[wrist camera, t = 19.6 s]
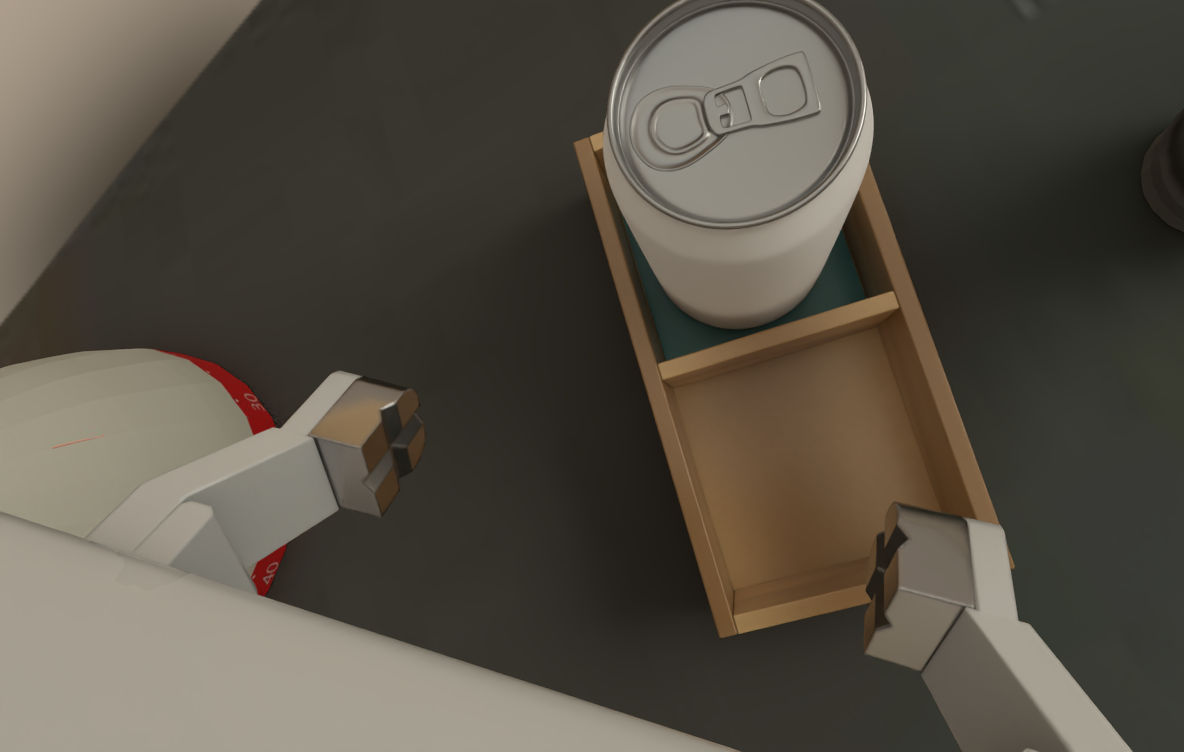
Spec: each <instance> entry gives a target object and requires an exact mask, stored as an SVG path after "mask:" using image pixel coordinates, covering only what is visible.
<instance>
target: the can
mask: <svg viewBox="0 0 1184 752" xmlns="http://www.w3.org/2000/svg"><path fill="white" fill-rule="evenodd" d="M873 128H874V126H873V109H872V103H871V98H870V94H869V91H868V88H867V83H866V76H865V71H864V67H863V63H862V60H861V57H860V54H859V52H858V49H857V47H856V45H855V43H854V41H853V40H852V38H851V36H850V35H849V33H848V32H847V30H846V29H845V28H844V26H843V25H842V24H841V23H840V22H839V21H838V19H837V18H836V17H835V16H834V15H833V14H832V13H830V12H829V11H828V10H827V9H826V8H824V7H823V6H822V5H820V4H819V3H818V2H816V1H814V0H678V1H676V2H675V3H673V4H671V5H670V6H668V7H667V8H665V9H664V10H663V11H661V12H660V13H659V14H657V15H656V16H655V17H654V18H653V19H651V20H650V21H649V22H648V23H647V24H646V25H645V26H644V27H643V28H642V29H641V31H640V32H639V33H638V34H637V35H636V37H635V38H634V39H633V40H632V42H631V43H630V45H629V46H628V48H627V49H626V51H625V52H624V54H623V56H622V58H621V60H620V62H619V64H618V66H617V68H616V71H615V74H614V76H613V79H612V83H611V86H610V91H609V96H608V103H607V115H606V120H605V126H604V135H603V154H604V162H605V168H606V173H607V177H608V181H609V184H610V187H611V190H612V192H613V195H614V197H615V199H616V202H617V204H618V206H619V208H620V210H621V212H622V214H623V216H624V218H625V220H626V222H627V224H628V226H629V227H630V229H631V231H632V233H633V235H634V237H635V239H636V241H637V243H638V244H639V246H640V248H641V250H642V252H643V254H644V256H645V257H646V259H647V261H648V263H649V265H650V267H651V268H652V270H653V272H654V274H655V275H656V277H657V279H658V281H659V283H660V284H661V286H662V288H663V289H664V291H665V292H666V294H667V295H668V297H669V298H670V299H671V301H672V302H673V303H674V304H675V305H676V306H677V307H678V308H679V309H681V310H682V311H683V312H684V313H686V314H687V315H689V316H690V317H692V318H694V319H696V320H698V321H700V322H702V323H705V324H707V325H711V326H714V327H719V328H725V329H746V328H753V327H757V326H761V325H764V324H767V323H770V322H772V321H774V320H776V319H778V318H780V317H782V316H784V315H785V314H787V313H788V312H789V311H791V310H792V309H793V308H795V307H796V306H797V305H798V304H799V303H800V302H801V301H802V300H803V299H804V298H805V297H806V295H807V294H808V293H809V292H810V290H811V289H812V287H813V286H814V284H815V282H816V281H817V279H818V277H819V275H820V273H821V271H822V269H823V267H824V265H825V263H826V261H827V259H828V256H829V254H830V252H831V250H832V248H833V246H834V244H835V241H836V239H837V237H838V235H839V233H840V230H841V228H842V226H843V224H844V222H845V219H846V217H847V215H848V213H849V211H850V208H851V206H852V204H853V202H854V199H855V197H856V195H857V192H858V190H859V188H860V185H861V183H862V180H863V177H864V174H865V172H866V169H867V165H868V162H869V158H870V153H871V147H872V141H873Z"/></svg>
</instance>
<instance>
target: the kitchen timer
mask: <svg viewBox="0 0 1184 752" xmlns="http://www.w3.org/2000/svg"><path fill="white" fill-rule="evenodd" d="M272 427H274V428H276V427H275V424H274V422H273V419H272V417H271V416H270V415H269V413H268V412H267V411H266V409H265V408H264V407H263V406H262V404H261V403H260V402H259V400H258V399H257V398H256V396H255V395H254V394H253V392H252V391H251V390H250V388H249V387H248V386H247V385H246V384H244V383H243V382H241V381H240V380H239V379H237V378H236V377H234V376H233V375H231V374H230V373H229V372H227V371H226V370H224V369H223V368H221V367H220V366H219V365H217V364H215V363H212V362H208V361H205V360H201V359H198V358H195V357H191V356H188V355H184V354H181V353H174V352H168V351H161V350H155V349H121V350H103V351H84V352H77V353H70V354H65V355H59V356H54V357H49V358H44V359H39V360H34V361H29V362H24V363H19V364H15V365H10V366H7V367H3V368H0V511H1V512H4V513H7V514H11V515H14V516H17V517H20V518H23V519H26V520H29V521H32V522H35V523H38V524H41V525H44V526H47V527H51V528H54V529H57V530H60V531H63V532H66V533H69V534H72V535H75V536H78V537H81V538H85V537H86V536H87V535H88V534H89V533H90V532H91V531H92V530H93V529H94V528H95V527H96V526H97V525H98V524H99V523H100V522H101V521H102V520H103V519H105V518H106V517H107V516H108V515H109V514H110V513H111V512H112V511H113V510H114V509H115V508H116V507H117V506H118V505H119V504H120V503H121V502H122V501H123V500H124V499H125V498H126V497H127V496H128V495H130V494H131V493H132V492H133V491H134V490H135V489H136V488H137V487H138V486H139V485H140V484H141V483H143V482H145V481H147V480H150V479H152V478H155V477H157V476H159V475H162V474H164V473H166V472H169V471H171V470H173V469H176V468H178V467H180V466H183V465H185V464H188V463H190V462H192V461H195V460H197V459H199V458H202V457H204V456H206V455H209V454H211V453H213V452H216V451H218V450H220V449H223V448H225V447H228V446H230V445H232V444H235V443H237V442H239V441H242V440H244V439H246V438H249V437H251V436H253V435H256V434H258V433H260V432H263V431H265V430H268V429H270V428H272ZM286 544H287V543H286ZM286 544H285V545H283V546H282V547H280V548H278V549H277V550H275V551H274V552H272V553H271V554H269V555H267V556H266V557H264V558H263V559H261V560H260V561H258V562H257V563H255V564H253V565H252V566H250V567H249V568H247V569H246V570H247V572H248V573H249V575H250V577H251V579H252V581H253V582H254V584H255V586H256V588H257V594H258V595H260V596H263V597H264V596H265V594H266V593H267V592H268V590H269V588H270V585H271V583H272V581H273V578H274V576H275V573H276V571H277V569H278V566H279V564H280V562H281V559H282V557H283V555H284V552H285V550H286Z"/></svg>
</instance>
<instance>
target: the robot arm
mask: <svg viewBox="0 0 1184 752" xmlns="http://www.w3.org/2000/svg"><path fill="white" fill-rule="evenodd" d="M419 406H420V402H419V399H418V395H417V391H415V390H412V389H410V388H406V387H402V386H398V385H395V384H391V383H387V382H383V381H379V380H376V379H372V378H368V377H364V376H359V375H355V374H351V373H347V372H343V371H337V372H334V373H332V374H330V375H329V376H328V377H327V379H326V380H325V381H324V382H323V383H322V384H321V385H320V386H319V387H318V388H317V389H316V390H315V392H314V393H313V394H312V395H311V396H310V397H309V398H308V399H307V400H306V401H305V402H304V403H303V405H302V406H301V407H300V408H299V409H298V410H297V411H296V412H295V413H294V414H293V415H292V417H291V418H290V419H289V420H288V421H287V422H286V423H285V424H284V425H283V426H282V427H281V428H280V429H279V428H274V427H272V428H270V429H268V430H265V431H263V432H260V433H258V434H256V435H253V436H251V437H249V438H246V439H244V440H242V441H239V442H237V443H235V444H232V445H230V446H228V447H225V448H223V449H220V450H218V451H216V452H213V453H211V454H209V455H206V456H204V457H202V458H199V459H197V460H195V461H192V462H190V463H188V464H185V465H183V466H180V467H178V468H176V469H173V470H171V471H169V472H166V473H164V474H162V475H159V476H157V477H155V478H152V479H150V480H147V481H145V482H143V483H141V484H140V485H139V486H138V487H137V488H136V489H135V490H134V491H133V492H132V493H131V494H130V495H128V496H127V497H126V498H125V499H124V500H123V501H122V502H121V503H120V504H119V505H118V506H117V507H116V508H115V509H114V510H113V511H112V512H111V513H110V514H109V515H108V516H107V517H106V518H105V519H103V520H102V521H101V522H100V523H99V524H98V525H97V526H96V527H95V528H94V529H93V530H92V531H91V532H90V533H89V534H88V535H87V536H86V537H85V538H81V537H78V536H75V535H72V534H69V533H66V532H63V531H60V530H57V529H54V528H51V527H47V526H44V525H41V524H38V523H35V522H32V521H29V520H26V519H23V518H20V517H17V516H14V515H11V514H7V513H4V512H1V511H0V752H742V751H738V750H735V749H732V748H729V747H726V746H723V745H720V744H717V743H714V742H711V741H708V740H705V739H701V738H698V737H695V736H692V735H689V734H686V733H683V732H680V731H677V730H674V729H671V728H668V727H665V726H661V725H658V724H655V723H652V722H649V721H646V720H643V719H640V718H637V717H634V716H631V715H628V714H625V713H621V712H618V711H615V710H612V709H609V708H606V707H603V706H600V705H597V704H594V703H591V702H588V701H584V700H581V699H578V698H575V697H572V696H569V695H566V694H563V693H560V692H557V691H554V690H551V689H547V688H544V687H541V686H538V685H535V684H532V683H529V682H526V681H523V680H520V679H517V678H513V677H510V676H507V675H504V674H501V673H498V672H495V671H492V670H489V669H486V668H483V667H479V666H476V665H473V664H470V663H467V662H464V661H461V660H458V659H455V658H452V657H449V656H445V655H442V654H439V653H436V652H433V651H430V650H427V649H424V648H421V647H418V646H415V645H411V644H408V643H405V642H402V641H399V640H396V639H393V638H390V637H387V636H384V635H381V634H377V633H374V632H371V631H368V630H365V629H362V628H359V627H356V626H353V625H350V624H347V623H343V622H340V621H337V620H334V619H331V618H328V617H325V616H322V615H319V614H316V613H313V612H310V611H306V610H303V609H300V608H297V607H294V606H291V605H288V604H285V603H282V602H279V601H276V600H272V599H269V598H266V597H263V596H260V595H258V594H257V588H256V586H255V584H254V582H253V581H252V579H251V577H250V575H249V573H248V572H247V570H246V569H247V568H249V567H250V566H252V565H253V564H255V563H257V562H258V561H260V560H261V559H263V558H264V557H266V556H267V555H269V554H271V553H272V552H274V551H275V550H277V549H278V548H280V547H282V546H283V545H285V544H286V543H288V542H289V541H291V540H293V539H294V538H296V537H297V536H299V535H300V534H302V533H304V532H305V531H307V530H308V529H310V528H311V527H313V526H315V525H316V524H318V523H319V522H321V521H322V520H324V519H325V518H327V517H329V516H330V515H332V514H333V513H335V512H336V511H338V510H339V508H338V507H340V508H344V509H348V510H352V511H356V512H360V513H364V514H368V515H372V516H376V517H380V518H381V517H382V516H383V514H384V513H385V512H386V510H387V509H388V507H389V506H390V504H391V503H392V501H393V500H394V498H395V497H396V495H397V494H398V492H399V491H400V486H399V478H401V477H403V476H405V475H407V474H409V473H411V472H413V470H414V468H415V467H416V465H417V464H418V462H419V461H420V459H421V456H422V453H423V450H424V447H425V439H426V431H425V426H424V422H423V421H422V420H421V419H420V418H419V417H418V416H417V414H416V413H415V412H416V410H417V409H418V407H419ZM865 591H866V593H867V594H868V596H869V597H870V599H871V600H872V601H871V603H870V605H869V607H868V610H867V612H866V614H865V616H864V655H868V656H871V657H874V658H877V659H881V660H884V661H887V662H890V663H894V664H897V665H900V666H903V667H907V668H910V669H913V670H916V671H920V672H922V674H921V676H922V678H923V680H924V682H925V683H926V685H927V687H928V689H929V691H930V693H931V695H932V696H933V698H934V700H935V702H936V704H937V706H938V708H939V709H940V711H941V713H942V715H943V717H944V719H945V721H946V723H947V724H948V726H949V728H950V730H951V732H952V734H953V736H954V737H955V739H956V741H957V743H958V745H959V747H960V749H961V751H962V752H1132V750H1131V749H1130V748H1129V747H1128V745H1127V744H1126V743H1125V742H1124V740H1123V739H1122V738H1121V737H1120V735H1119V734H1118V733H1117V732H1116V731H1115V729H1114V728H1113V727H1112V726H1111V724H1110V723H1109V722H1108V721H1107V719H1106V718H1105V717H1104V716H1103V714H1102V713H1101V712H1100V711H1099V709H1098V708H1097V707H1096V706H1095V705H1094V703H1093V702H1092V701H1091V700H1090V698H1089V697H1088V696H1087V695H1086V693H1085V692H1084V691H1083V690H1082V688H1081V687H1080V686H1079V685H1078V683H1077V682H1076V681H1075V680H1074V679H1073V677H1072V676H1071V675H1070V674H1069V672H1068V671H1067V670H1066V669H1065V667H1064V666H1063V665H1062V664H1061V662H1060V661H1059V660H1058V659H1057V657H1056V656H1055V655H1054V654H1053V653H1052V651H1051V650H1050V649H1049V648H1048V646H1047V645H1046V644H1045V643H1044V641H1043V640H1042V639H1041V638H1040V636H1039V635H1038V634H1037V633H1036V631H1035V630H1034V629H1033V628H1032V627H1031V625H1030V624H1027V623H1024V622H1020V621H1018V615H1017V608H1016V602H1015V596H1014V589H1013V583H1012V576H1011V570H1010V563H1009V557H1008V551H1007V544H1006V538H1005V532H1004V530H1003V529H1002V527H1001V526H1000V525H997V524H993V523H988V522H984V521H979V520H975V519H971V518H966V517H963V518H962V517H961V516H959V515H954V514H950V513H945V512H941V511H936V510H932V509H927V508H923V507H918V506H914V505H909V504H905V503H900V502H896V501H894V502H893V503H892V504H891V505H890V507H889V509H888V511H887V513H886V515H885V531H882V532H880V533H878V534H877V535H876V538H875V540H874V543H873V545H872V548H871V551H870V555H869V559H868V563H867V572H866V586H865Z"/></svg>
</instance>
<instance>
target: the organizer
mask: <svg viewBox="0 0 1184 752" xmlns="http://www.w3.org/2000/svg"><path fill="white" fill-rule="evenodd" d="M603 135H604V131H603V132H601V133H598V134H595V135H593V136H590V139H589V138H585V139H582V140H579V141H577V142H574V148H575V151H576V155H577V158H578V162H579V165H580V168H581V172H582V175H583V178H584V182H585V185H586V189H587V192H588V195H589V199H590V202H591V206H592V209H593V212H594V216H595V219H596V222H597V226H598V229H599V233H600V236H601V239H602V243H603V246H604V249H605V253H606V256H607V260H608V263H609V266H610V270H611V273H612V277H613V280H614V283H615V287H616V290H617V293H618V297H619V300H620V304H621V307H622V310H623V314H624V317H625V321H626V324H627V327H628V331H629V334H630V337H631V341H632V344H633V348H634V351H635V354H636V358H637V361H638V364H639V368H640V371H641V375H642V378H643V381H644V385H645V388H646V392H647V395H648V398H649V402H650V405H651V408H652V412H653V415H654V419H655V422H656V425H657V429H658V432H659V435H660V439H661V442H662V446H663V449H664V452H665V456H666V459H667V463H668V466H669V469H670V473H671V476H672V479H673V483H674V486H675V490H676V493H677V496H678V500H679V503H680V507H681V510H682V513H683V517H684V520H685V523H686V527H687V530H688V534H689V537H690V540H691V544H692V547H693V550H694V554H695V557H696V561H697V564H698V567H699V571H700V574H701V578H702V581H703V584H704V588H705V591H706V594H707V598H708V601H709V605H710V608H711V611H712V615H713V618H714V621H715V625H716V628H717V632H718V635H719V637H720V638H724V637H729V636H733V635H736V634H737V632H738V634H741V633H746V632H750V631H754V630H758V629H763V628H767V627H771V626H775V625H779V624H784V623H788V622H792V621H796V620H801V619H805V618H809V617H813V616H817V615H822V614H826V613H830V612H834V611H838V610H843V609H847V608H851V607H855V606H860V605H864V604H868V603H871V601H872V600H871V599H870V597H869V596H868V594H867V593H866V591H865V586H866V572H867V563H868V559H869V555H870V551H871V548H872V545H873V543H874V540H875V538H876V535H877V534H878V533H880V532H882V531H885V515H886V513H887V511H888V509H889V507H890V505H891V504H892V503H893V502H894V501H896V502H900V503H905V504H909V505H914V506H918V507H923V508H927V509H932V510H936V511H941V512H945V513H950V514H954V515H959V516H961V517H962V518H963V517H966V518H971V519H975V520H979V521H984V522H988V523H993V524H997V525H1000V524H999V521H998V519H997V516H996V513H995V510H994V508H993V505H992V502H991V499H990V497H989V494H988V491H987V488H986V485H985V483H984V480H983V477H982V474H981V472H980V469H979V466H978V463H977V461H976V458H975V455H974V452H973V449H972V447H971V444H970V441H969V438H968V436H967V433H966V430H965V427H964V425H963V422H962V419H961V416H960V413H959V411H958V408H957V405H956V402H955V400H954V397H953V394H952V391H951V389H950V386H949V383H948V380H947V377H946V375H945V372H944V369H943V366H942V364H941V361H940V358H939V355H938V353H937V350H936V347H935V344H934V341H933V339H932V336H931V333H930V330H929V328H928V325H927V322H926V319H925V317H924V314H923V311H922V308H921V305H920V303H919V300H918V297H917V294H916V292H915V289H914V286H913V283H912V281H911V278H910V275H909V272H908V269H907V267H906V264H905V261H904V258H903V256H902V253H901V250H900V247H899V245H898V242H897V239H896V236H895V233H894V231H893V228H892V225H891V222H890V220H889V217H888V214H887V211H886V209H885V206H884V203H883V200H882V197H881V195H880V192H879V189H878V186H877V184H876V181H875V178H874V175H873V173H872V170H871V167H870V164H869V162H868V165H867V169H866V172H865V174H864V177H863V180H862V183H861V185H860V188H859V190H858V192H857V195H856V197H855V199H854V202H853V204H852V206H851V208H850V211H849V213H848V215H847V217H846V219H845V222H844V224H843V226H842V228H841V230H840V233H839V235H838V237H837V239H836V241H835V244H834V246H833V248H832V250H831V252H830V254H829V256H828V259H827V261H826V263H825V265H824V267H823V269H822V271H821V273H820V275H819V277H818V279H817V281H816V282H815V284H814V286H813V287H812V289H811V290H810V292H809V293H808V294H807V295H806V297H805V298H804V299H803V300H802V301H801V302H800V303H799V304H798V305H797V306H796V307H795V308H793V309H792V310H791V311H789V312H788V313H787V314H785V315H784V316H782V317H780V318H778V319H776V320H774V321H772V322H770V323H767V324H764V325H761V326H757V327H753V328H746V329H725V328H719V327H714V326H711V325H707V324H705V323H702V322H700V321H698V320H696V319H694V318H692V317H690V316H689V315H687V314H686V313H684V312H683V311H682V310H681V309H679V308H678V307H677V306H676V305H675V304H674V303H673V302H672V301H671V299H670V298H669V297H668V295H667V294H666V292H665V291H664V289H663V288H662V286H661V284H660V283H659V281H658V279H657V277H656V275H655V274H654V272H653V270H652V268H651V267H650V265H649V263H648V261H647V259H646V257H645V256H644V254H643V252H642V250H641V248H640V246H639V244H638V243H637V241H636V239H635V237H634V235H633V233H632V231H631V229H630V227H629V226H628V224H627V222H626V220H625V218H624V216H623V214H622V212H621V210H620V208H619V206H618V204H617V202H616V199H615V197H614V195H613V192H612V190H611V187H610V184H609V181H608V177H607V173H606V168H605V162H604V154H603ZM1007 551H1008V557H1009V563H1010V570H1011V569H1014V568H1015V566H1014V563H1013V560H1012V557H1011V555H1010V552H1009V549H1008V546H1007Z"/></svg>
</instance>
